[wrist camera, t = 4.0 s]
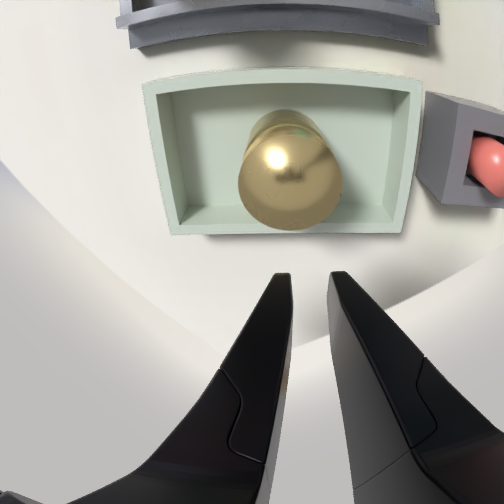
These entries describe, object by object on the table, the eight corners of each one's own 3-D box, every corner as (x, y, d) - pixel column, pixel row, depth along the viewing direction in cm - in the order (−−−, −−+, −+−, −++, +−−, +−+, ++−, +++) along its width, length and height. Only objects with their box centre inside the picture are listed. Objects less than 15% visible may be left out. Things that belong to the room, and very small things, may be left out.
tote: (401, 75, 14) (422, 81, 12) (386, 209, 20) (400, 232, 18) (160, 78, 16) (141, 84, 13) (182, 211, 21) (170, 235, 19)
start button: (497, 136, 13) (526, 154, 11) (489, 176, 15) (514, 198, 12) (465, 129, 13) (494, 146, 11) (457, 172, 15) (483, 195, 13)
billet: (322, 109, 16) (346, 136, 11) (321, 178, 18) (338, 230, 14) (246, 110, 16) (233, 137, 11) (250, 178, 19) (242, 231, 14)
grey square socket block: (493, 107, 14) (528, 124, 11) (479, 182, 18) (508, 208, 15) (425, 90, 15) (458, 103, 11) (415, 175, 18) (440, 203, 15)
